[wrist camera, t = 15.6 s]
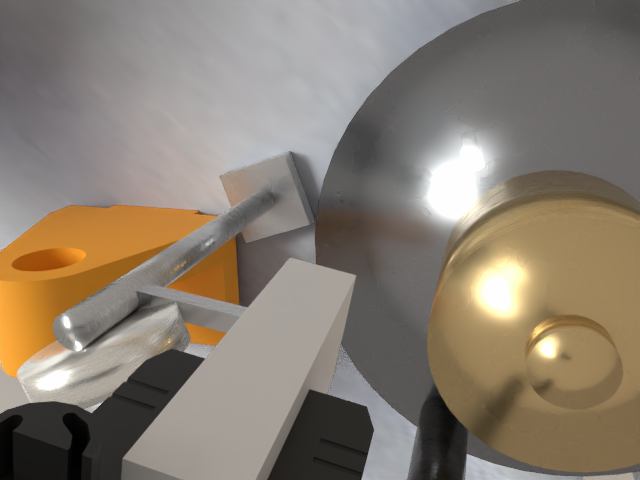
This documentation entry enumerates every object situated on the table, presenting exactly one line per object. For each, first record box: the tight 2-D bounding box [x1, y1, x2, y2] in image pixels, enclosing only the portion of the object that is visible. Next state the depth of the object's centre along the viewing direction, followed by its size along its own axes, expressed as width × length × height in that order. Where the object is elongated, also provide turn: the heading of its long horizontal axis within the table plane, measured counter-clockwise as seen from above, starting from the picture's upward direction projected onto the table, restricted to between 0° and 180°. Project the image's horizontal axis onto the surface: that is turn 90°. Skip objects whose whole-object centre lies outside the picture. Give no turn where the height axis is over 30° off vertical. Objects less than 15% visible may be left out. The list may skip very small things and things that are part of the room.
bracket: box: [0, 205, 239, 378], centre depth 31 cm, size 11×7×12 cm, turn 89°
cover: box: [427, 170, 640, 472], centre depth 24 cm, size 10×10×9 cm
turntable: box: [315, 0, 640, 480], centre depth 23 cm, size 24×24×13 cm
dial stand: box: [17, 151, 315, 409], centre depth 24 cm, size 7×4×18 cm, turn 109°
